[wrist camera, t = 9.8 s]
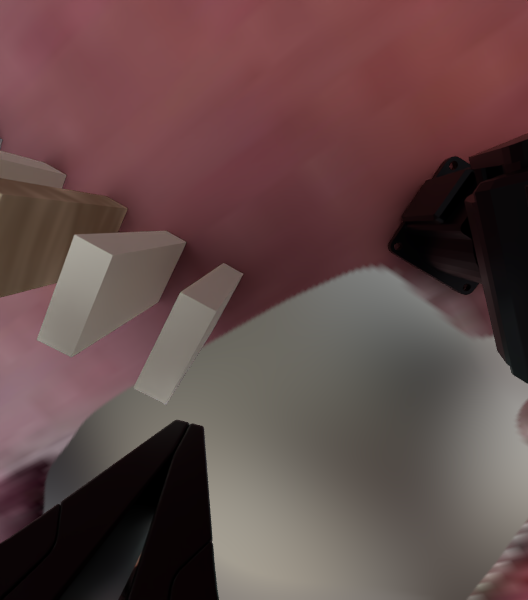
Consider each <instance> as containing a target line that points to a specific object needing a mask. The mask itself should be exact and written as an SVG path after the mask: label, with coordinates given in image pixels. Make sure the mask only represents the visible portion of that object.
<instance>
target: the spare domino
mask: <svg viewBox="0 0 528 600" xmlns="http://www.w3.org/2000/svg"><path fill="white" fill-rule="evenodd" d="M127 209H128V208H126V207H124V206H122V205H121V204H119V203H117V202H115V201H114V200H112V199H110V198H108V197H107V196H102V195H96V194H90V193H84V192H78V191H73V190H67V189H61V188H55V187H49V186H44V185H38V184H32V183H26V182H20V181H15V180H9V179H3V178H0V297H4V296H8V295H12V294H16V293H20V292H24V291H27V290H31V289H35V288H39V287H43V286H47V285H51V284H55V283H57V282H58V279H59V276H60V273H61V271H62V268H63V265H64V262H65V259H66V257H67V254H68V251H69V248H70V246H71V243H72V240H73V237H74V235H75V234H99V233H118V231H119V229H120V226H121V224H122V221H123V219H124V217H125V214H126V212H127Z"/></svg>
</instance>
